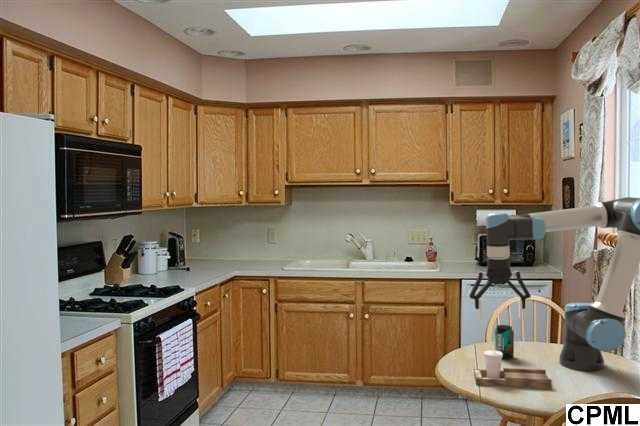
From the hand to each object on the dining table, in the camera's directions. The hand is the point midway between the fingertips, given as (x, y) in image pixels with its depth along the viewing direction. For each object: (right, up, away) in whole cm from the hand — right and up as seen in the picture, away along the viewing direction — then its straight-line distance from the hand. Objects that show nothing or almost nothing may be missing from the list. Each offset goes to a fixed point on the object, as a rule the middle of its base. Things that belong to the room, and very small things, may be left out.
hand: (500, 318), depth 191 cm
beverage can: (+9, -20, +24) cm, 33 cm away
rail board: (+3, -21, -2) cm, 22 cm away
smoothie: (-3, -22, -1) cm, 22 cm away
